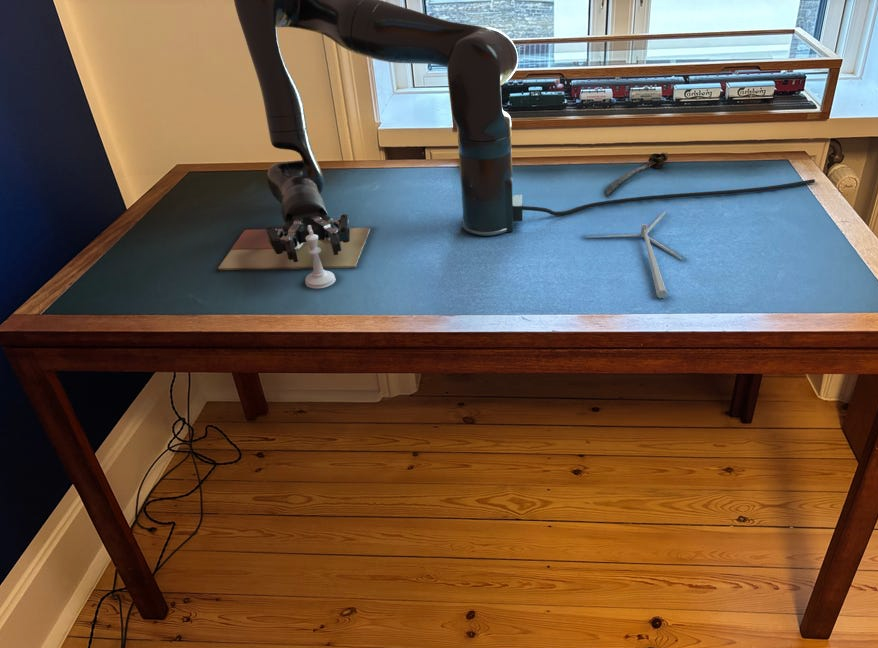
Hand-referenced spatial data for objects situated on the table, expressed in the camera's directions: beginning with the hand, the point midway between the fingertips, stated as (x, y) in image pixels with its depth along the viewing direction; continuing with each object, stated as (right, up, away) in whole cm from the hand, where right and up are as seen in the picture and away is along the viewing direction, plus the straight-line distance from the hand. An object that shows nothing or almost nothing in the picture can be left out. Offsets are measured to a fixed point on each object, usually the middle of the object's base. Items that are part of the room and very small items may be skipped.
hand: (315, 253), depth 114 cm
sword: (+59, +21, +36) cm, 72 cm away
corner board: (-7, +3, +16) cm, 18 cm away
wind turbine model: (+52, +1, +9) cm, 53 cm away
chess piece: (0, -4, +6) cm, 7 cm away
